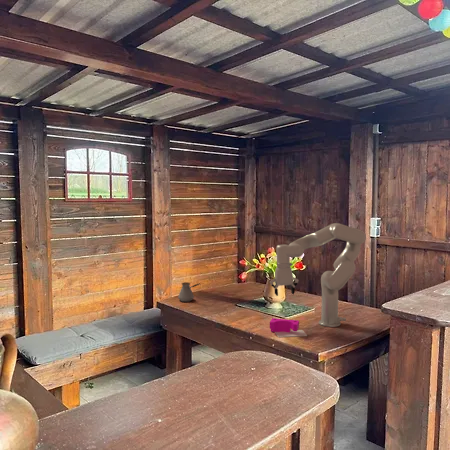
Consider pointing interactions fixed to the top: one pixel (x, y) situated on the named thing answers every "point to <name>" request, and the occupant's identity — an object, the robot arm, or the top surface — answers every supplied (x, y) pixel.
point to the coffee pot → (186, 292)
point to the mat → (291, 333)
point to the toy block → (283, 325)
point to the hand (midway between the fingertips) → (284, 294)
